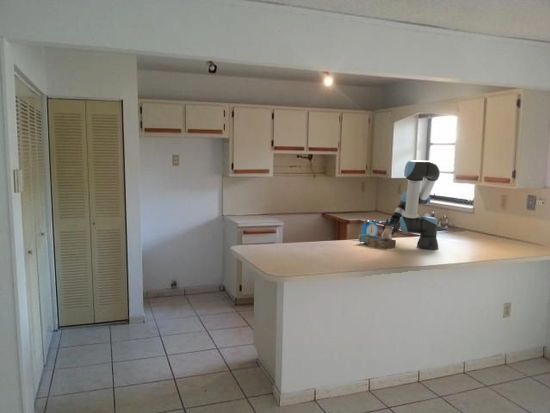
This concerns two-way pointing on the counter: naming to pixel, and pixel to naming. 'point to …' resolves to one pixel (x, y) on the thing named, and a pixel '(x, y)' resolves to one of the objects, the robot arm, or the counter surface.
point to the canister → (388, 231)
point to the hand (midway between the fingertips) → (385, 237)
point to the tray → (367, 236)
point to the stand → (382, 243)
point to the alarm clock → (370, 228)
